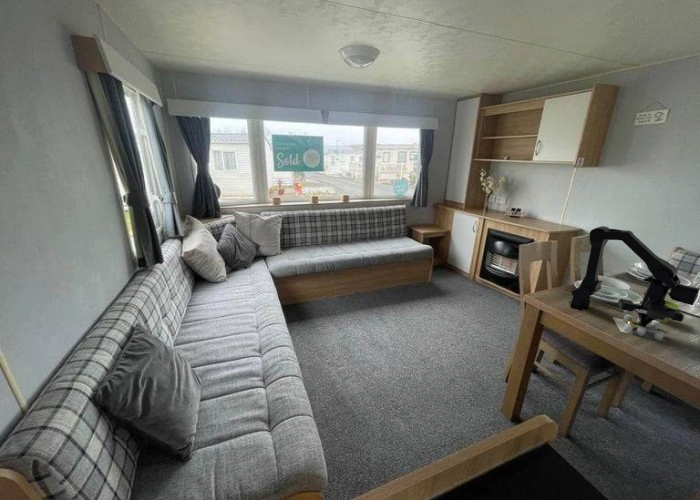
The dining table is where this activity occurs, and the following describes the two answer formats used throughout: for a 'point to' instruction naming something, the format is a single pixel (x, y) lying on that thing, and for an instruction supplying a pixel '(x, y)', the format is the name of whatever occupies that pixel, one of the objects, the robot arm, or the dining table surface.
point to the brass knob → (633, 324)
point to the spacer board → (640, 328)
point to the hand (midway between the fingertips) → (641, 327)
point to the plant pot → (669, 305)
